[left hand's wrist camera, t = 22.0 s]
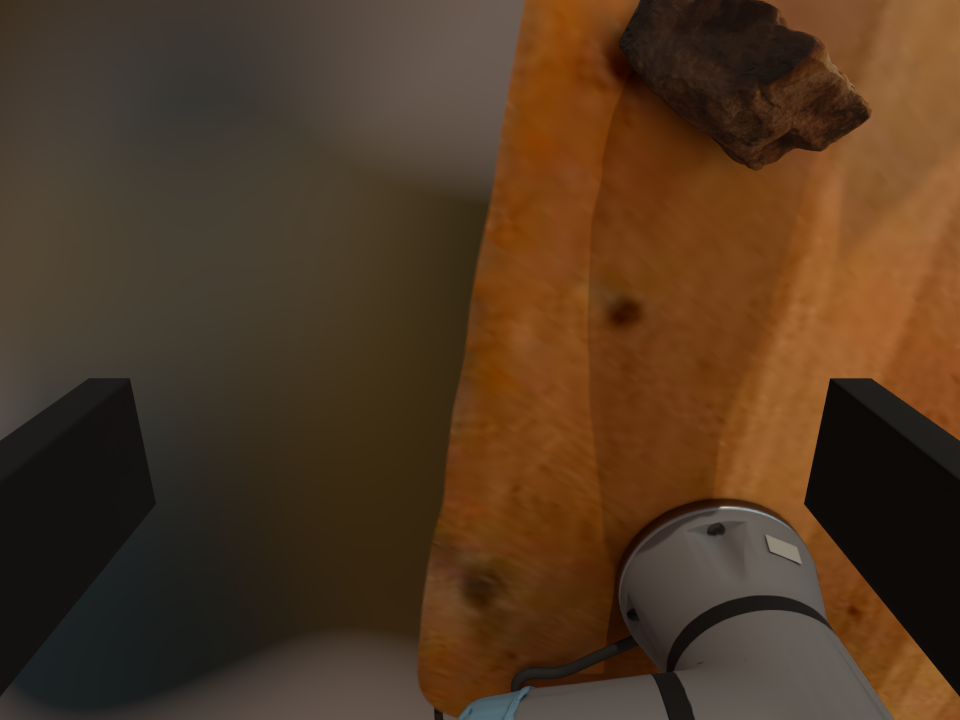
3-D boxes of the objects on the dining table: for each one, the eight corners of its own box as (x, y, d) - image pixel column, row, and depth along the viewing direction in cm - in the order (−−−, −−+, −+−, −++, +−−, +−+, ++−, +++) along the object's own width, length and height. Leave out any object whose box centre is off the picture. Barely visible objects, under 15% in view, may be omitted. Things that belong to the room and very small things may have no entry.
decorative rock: (806, 103, 40) (915, 103, 30) (734, 183, 42) (815, 208, 32) (664, -36, 38) (731, -87, 28) (593, 56, 39) (632, 40, 29)
